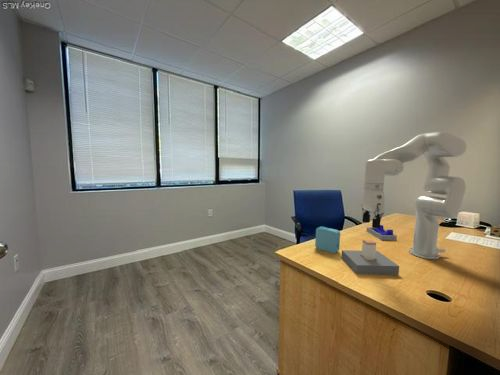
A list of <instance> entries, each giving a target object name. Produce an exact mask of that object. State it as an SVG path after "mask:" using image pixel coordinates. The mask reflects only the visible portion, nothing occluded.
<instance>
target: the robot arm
mask: <svg viewBox="0 0 500 375" xmlns="http://www.w3.org/2000/svg"><path fill="white" fill-rule="evenodd" d="M466 151H467V142H466V141H465V140H464V139H463V138H461V137H459V136H457V135H456V134H453V133H450V132H448V131H444V130H443V131H434V132H426V133H425V132H424V133H421V134H418V135H416V136H415V137H413V138H412V139H409V141H408V142H406V143H404V144H403V145H401V146H398V147H396V148H393V149H391V150H388V151H385V152H383V153H380V154H379V155H377V156H376V157H374V158H371V159H368V160H366V161H365V172H364V174H365V175H364V184H363V186H364V187H363V190H364V191H363V195H362V196H363V197H362V203H361V210H362V212H361V213H362V223H365V224H366V223H368V224H369V223H370V221H371V214H370V213H372V222H371V227H373V228H380V225H381V221H382V218H383V216H384V214H385V192H384V187H385V186H384V182H385V177H386V176H389V177H396V176H399V175H400V174H402V172H404V171H403V170H404V164H405V163H409V162H413V161H415V160H417V159H418V158H419V157H420V156H422V155H423V157H424V159H425V160H426V162H427V170H426V174H425V178H424V182H423V191H424V192H425V193H428V194H432V195H433V196H432V195H419V196H418V197H417V198H416V199H415V201H414V210H415V220H414V222H415V224H414V233H413V240H412V241H413V242H412V243H413V244H412V248H411V247H410V248H409V249H408V252H409V253H410V254H411V255H413V256H415V257H418V258H422V259H427V260H439V259H440V254H439V253H442V254H444V253H446V250H445V248H439V247H437V244H438V237H439V227H440V223H439V220H438V218H437V217H439V218H445V219H454V218H457V216H458V215H459V214H460V211H461V207H462V203H463V201H464V197H465V193H466V188H467V186H466V181H465V180H464V178H461V177H460V176H450V175H449V172H450V170H451V166H450V164H449V162H448V160H446V159H445V158H457V157H460V156H462V155H464V153H466ZM434 195H440V196H445V197H440V196H434Z"/></svg>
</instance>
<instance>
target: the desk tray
mask: <svg viewBox="0 0 500 375" xmlns="http://www.w3.org/2000/svg"><path fill="white" fill-rule="evenodd" d="M375 229H377V228H373V227H372V226H371V227H370V226H366V232H367V233H368V234H371V235H372V236H373V237H375V238H377V239H378V240H380V241H397V239H398V236H397V234H394V233H393V235H381V234H379V233H377V232H375ZM384 231H385V233H386V232H387V230H386V229H384Z"/></svg>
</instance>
